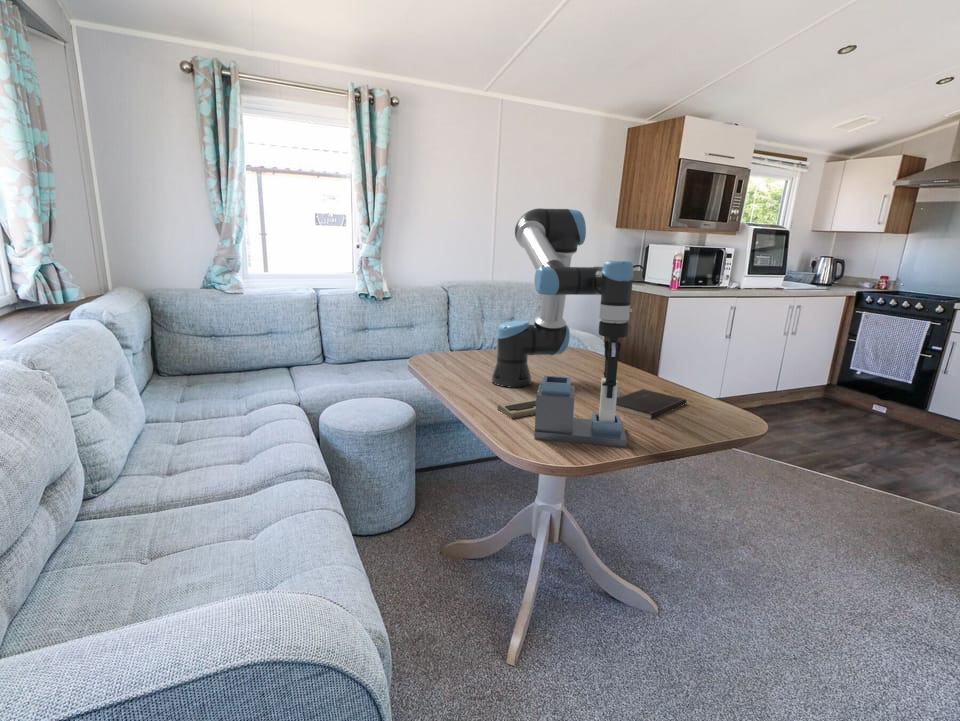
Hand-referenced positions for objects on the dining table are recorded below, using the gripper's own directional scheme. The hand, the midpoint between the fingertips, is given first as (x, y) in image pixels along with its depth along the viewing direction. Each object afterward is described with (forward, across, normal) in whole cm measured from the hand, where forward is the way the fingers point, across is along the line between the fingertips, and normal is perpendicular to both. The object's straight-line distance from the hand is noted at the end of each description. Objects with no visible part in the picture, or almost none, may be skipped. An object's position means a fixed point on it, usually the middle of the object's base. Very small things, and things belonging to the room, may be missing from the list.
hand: (607, 405), depth 132 cm
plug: (+5, 0, 0) cm, 5 cm away
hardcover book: (+9, +31, -15) cm, 36 cm away
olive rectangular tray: (+9, +15, +24) cm, 30 cm away
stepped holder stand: (+9, 0, +7) cm, 11 cm away
